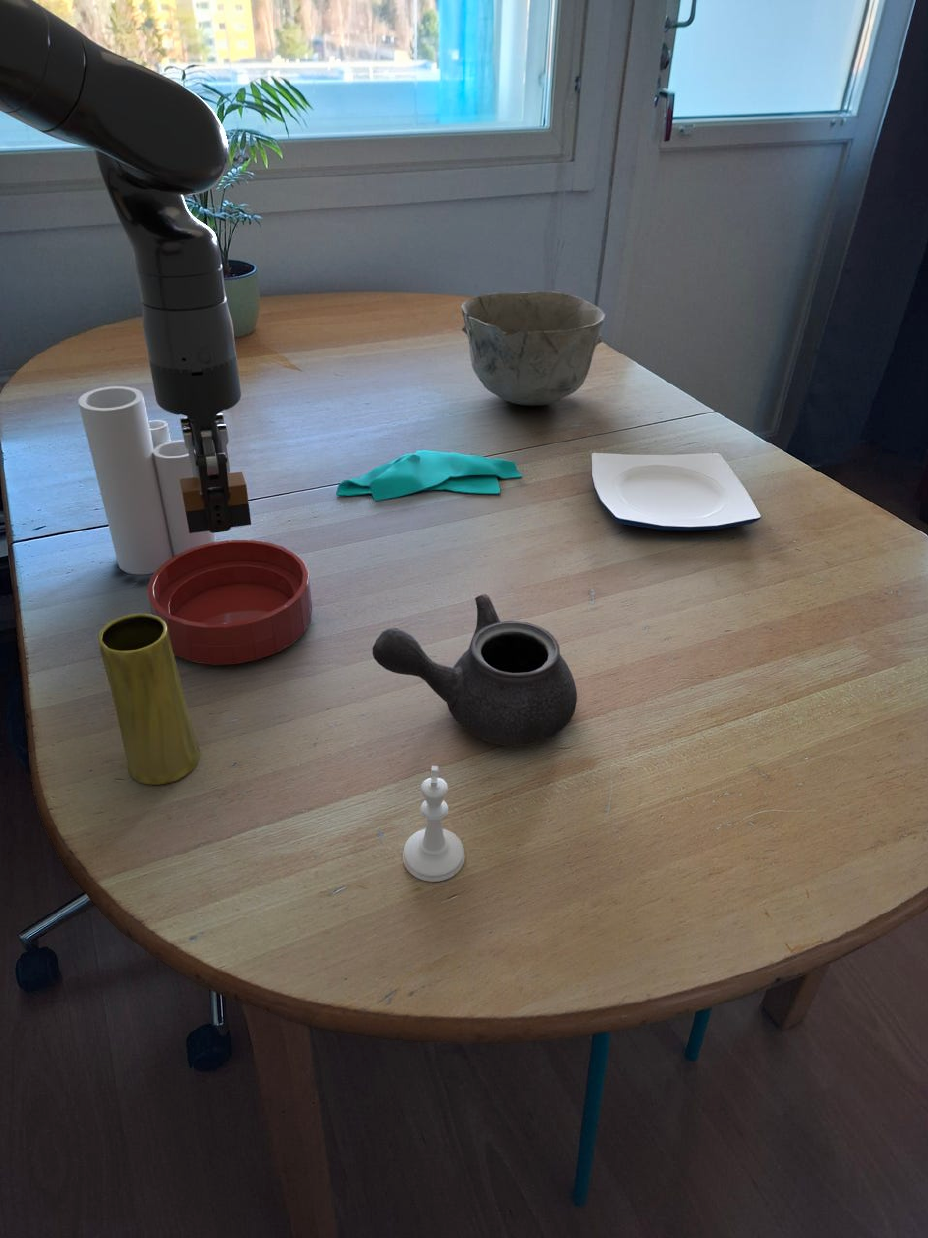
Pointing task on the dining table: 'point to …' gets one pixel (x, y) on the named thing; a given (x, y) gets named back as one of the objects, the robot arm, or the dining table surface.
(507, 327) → the bowl
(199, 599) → the red bowl
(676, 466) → the plate
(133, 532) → the vase
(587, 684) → the dining table surface
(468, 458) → the cloth
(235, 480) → the eraser
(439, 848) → the chess piece
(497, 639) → the teapot
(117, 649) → the vase
